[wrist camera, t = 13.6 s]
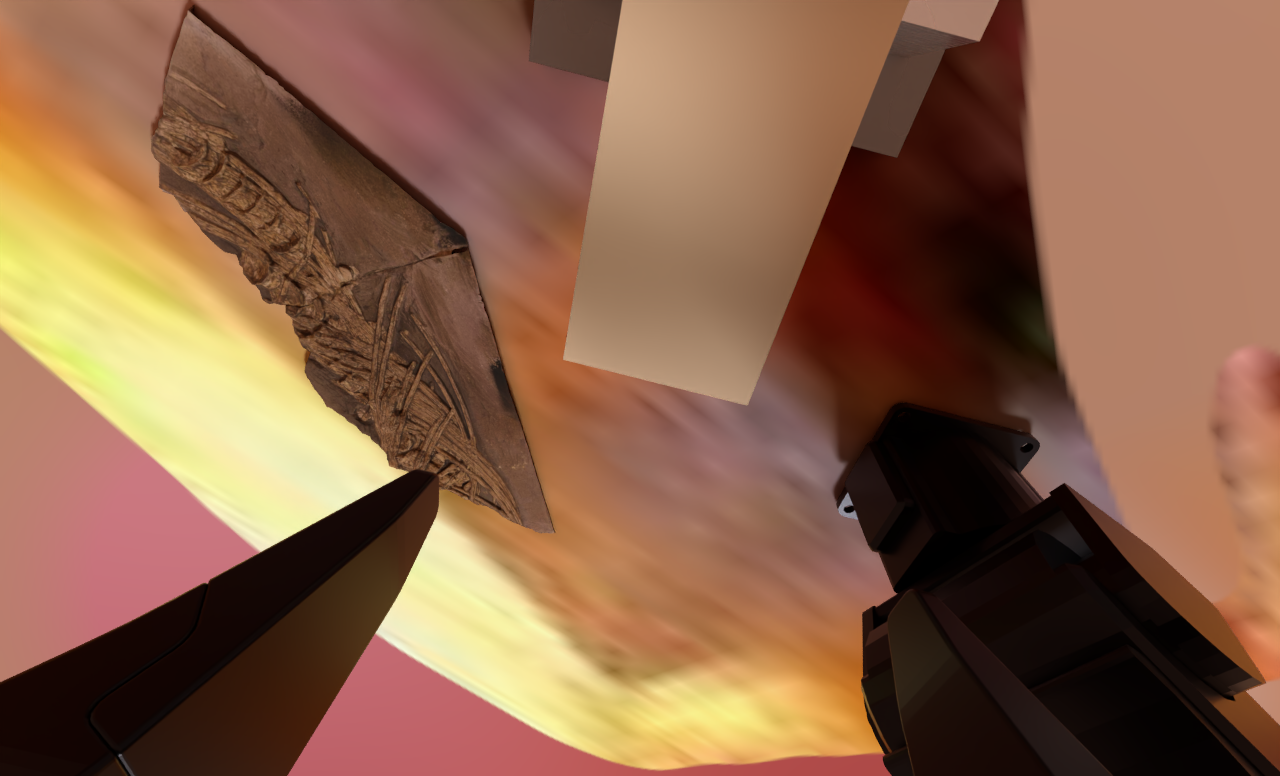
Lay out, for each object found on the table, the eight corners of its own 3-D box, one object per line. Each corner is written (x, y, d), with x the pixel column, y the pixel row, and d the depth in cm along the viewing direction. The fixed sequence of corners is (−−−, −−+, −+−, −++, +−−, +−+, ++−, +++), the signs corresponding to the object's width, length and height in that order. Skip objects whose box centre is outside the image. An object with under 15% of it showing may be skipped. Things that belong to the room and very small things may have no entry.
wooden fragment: (91, 83, 19) (61, 82, 18) (310, -65, 16) (287, -76, 15) (451, 550, 30) (443, 564, 29) (619, 510, 27) (616, 525, 26)
